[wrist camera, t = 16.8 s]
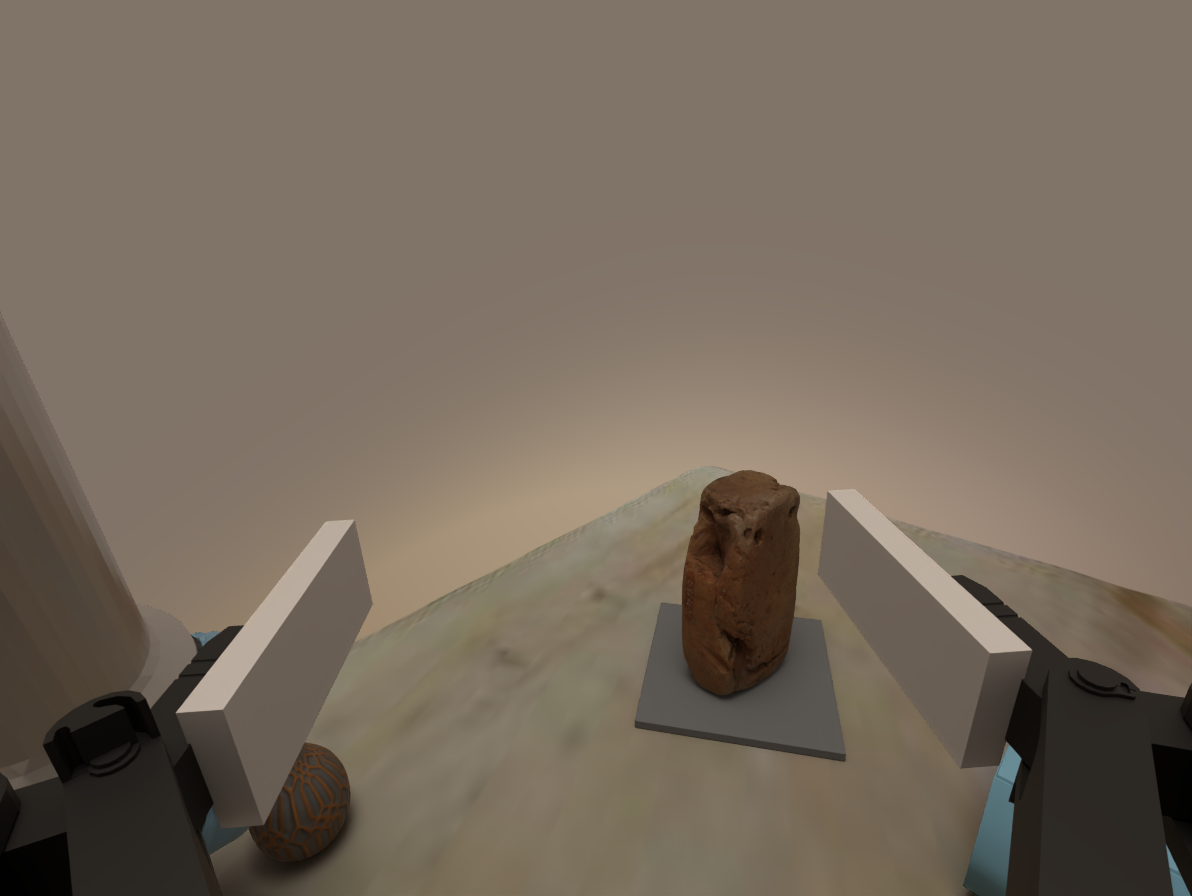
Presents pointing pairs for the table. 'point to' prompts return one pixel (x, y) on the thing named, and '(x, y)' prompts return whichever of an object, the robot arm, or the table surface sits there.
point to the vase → (306, 807)
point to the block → (740, 581)
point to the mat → (745, 696)
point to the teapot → (995, 838)
